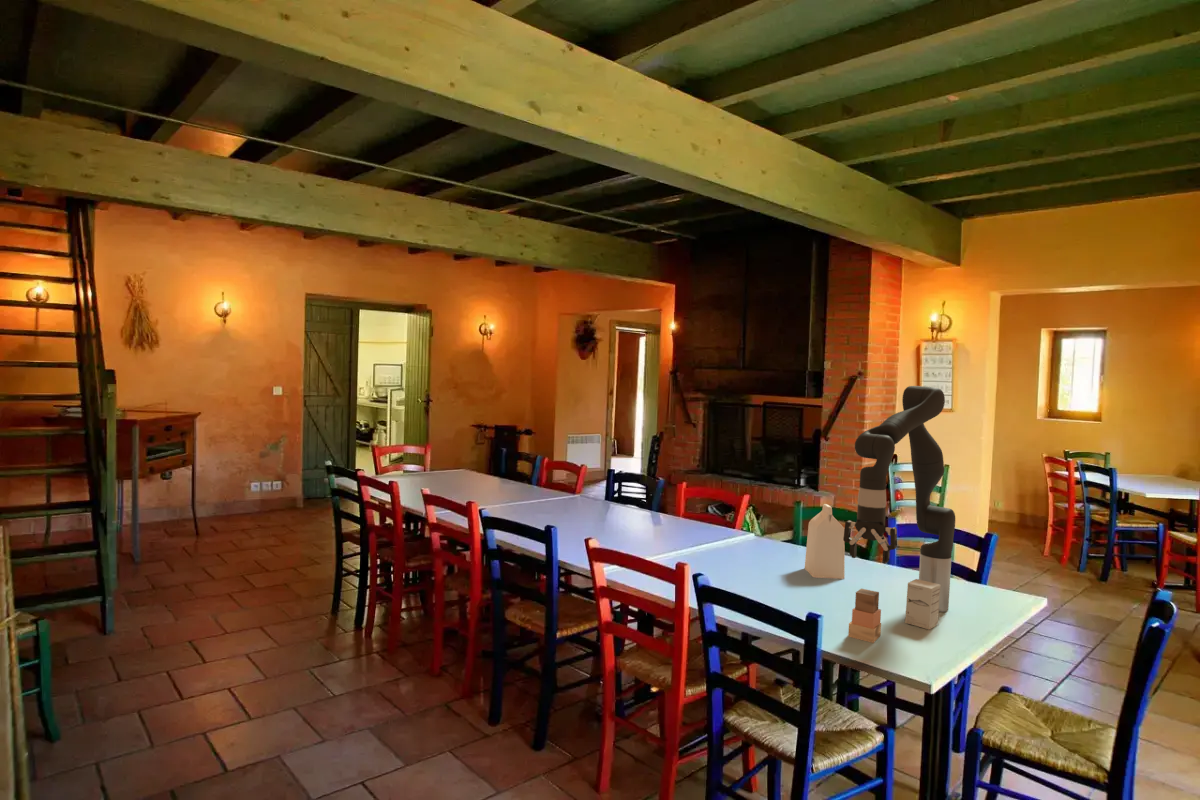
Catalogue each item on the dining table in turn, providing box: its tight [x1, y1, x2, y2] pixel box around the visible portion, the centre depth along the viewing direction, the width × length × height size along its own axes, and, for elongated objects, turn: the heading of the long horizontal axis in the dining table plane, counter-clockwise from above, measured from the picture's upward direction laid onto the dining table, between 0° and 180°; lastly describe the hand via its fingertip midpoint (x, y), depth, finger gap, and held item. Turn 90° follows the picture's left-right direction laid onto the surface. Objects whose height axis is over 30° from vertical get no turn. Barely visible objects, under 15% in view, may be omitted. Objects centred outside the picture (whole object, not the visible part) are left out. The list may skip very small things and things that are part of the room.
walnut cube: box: [854, 588, 880, 614], centre depth 199 cm, size 5×5×5 cm
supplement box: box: [904, 578, 941, 630], centre depth 212 cm, size 7×7×13 cm
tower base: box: [847, 620, 882, 644], centre depth 200 cm, size 7×7×4 cm
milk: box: [804, 503, 846, 580], centre depth 264 cm, size 12×12×26 cm
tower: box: [851, 607, 882, 629], centre depth 199 cm, size 6×6×4 cm
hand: (868, 560), depth 199 cm, fingers open, 8 cm apart
